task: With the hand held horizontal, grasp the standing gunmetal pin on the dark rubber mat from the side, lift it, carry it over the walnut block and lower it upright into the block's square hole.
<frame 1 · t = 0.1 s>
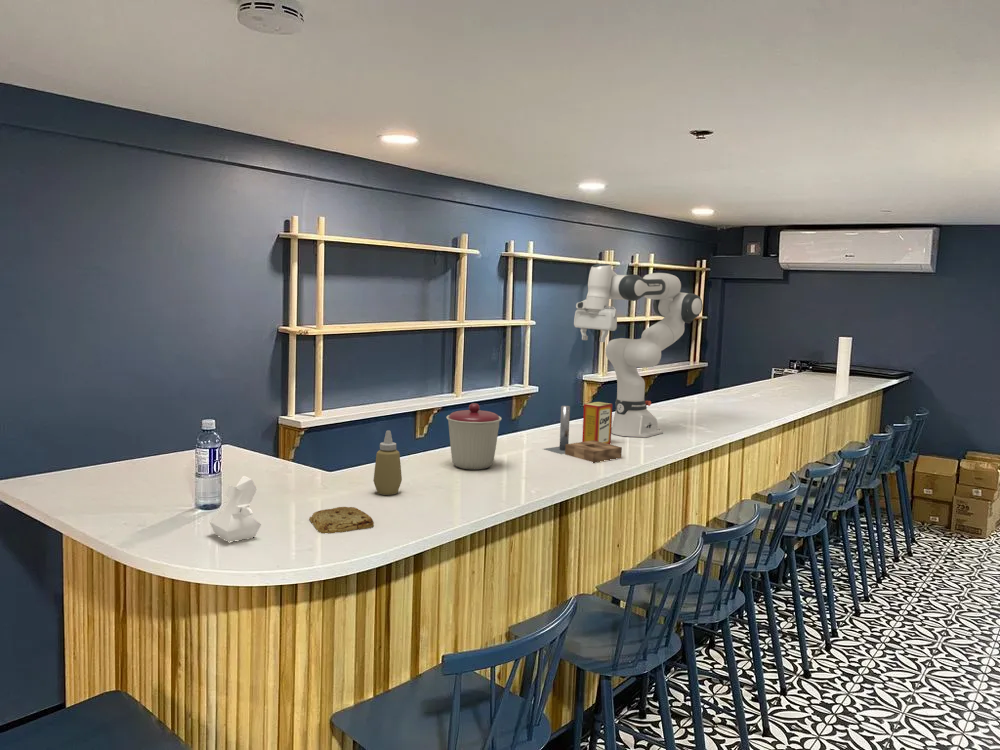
hand: (593, 341, 307), 39 cm above the bar counter, tool pointing down, fingers open, 8 cm apart
pin: (563, 449, 290), resting on mat
hole block: (593, 456, 281), on the bar counter
canister: (472, 467, 261), on the bar counter
pastry: (340, 525, 198), on the bar counter
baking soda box: (596, 444, 303), on the bar counter
white faceted figurine: (236, 537, 185), on the bar counter
mat: (563, 450, 290), on the bar counter
squeeze bottle: (387, 493, 226), on the bar counter
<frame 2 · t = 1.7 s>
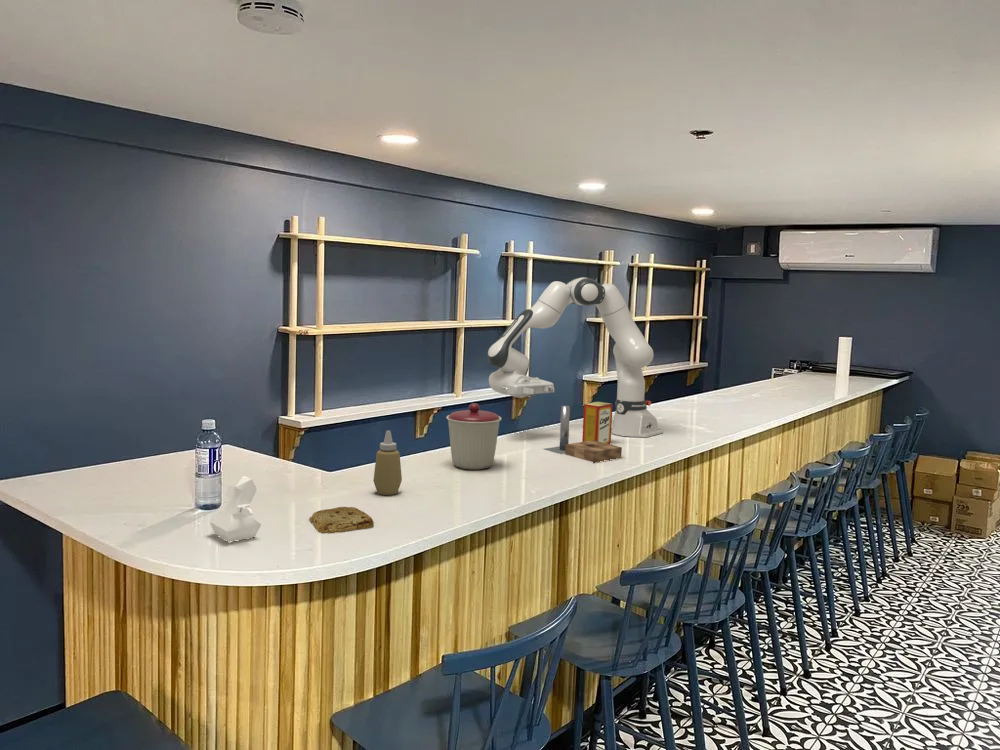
hand: (543, 391, 296), 20 cm above the bar counter, tool horizontal, fingers open, 8 cm apart
nothing on the bar counter moved.
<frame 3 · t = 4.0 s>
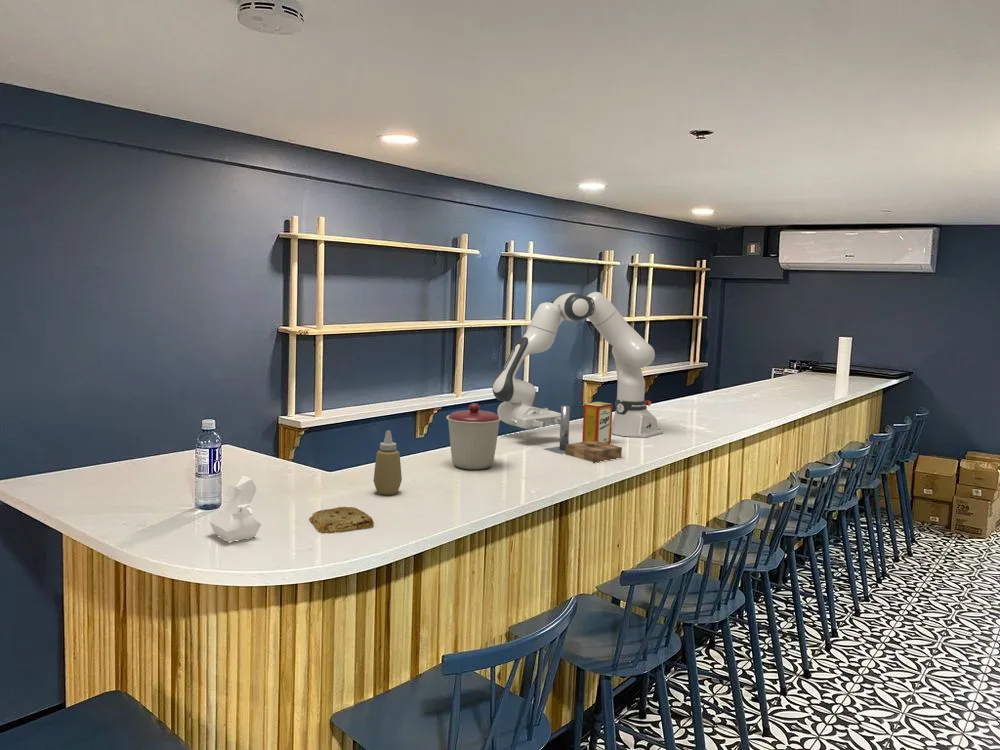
hand: (553, 423, 293), 9 cm above the bar counter, tool horizontal, fingers open, 8 cm apart
nothing on the bar counter moved.
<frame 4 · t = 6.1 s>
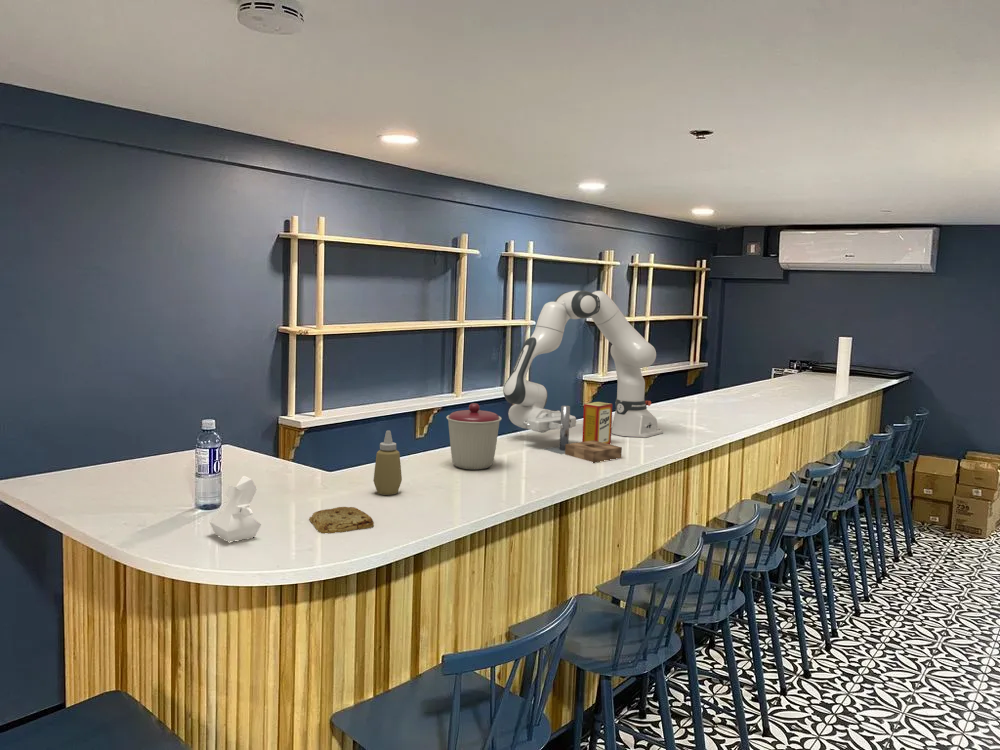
hand: (566, 426, 288), 9 cm above the bar counter, tool horizontal, fingers closed on pin, 3 cm apart
pin: (563, 449, 290), resting on mat, touching gripper
everything else where it was.
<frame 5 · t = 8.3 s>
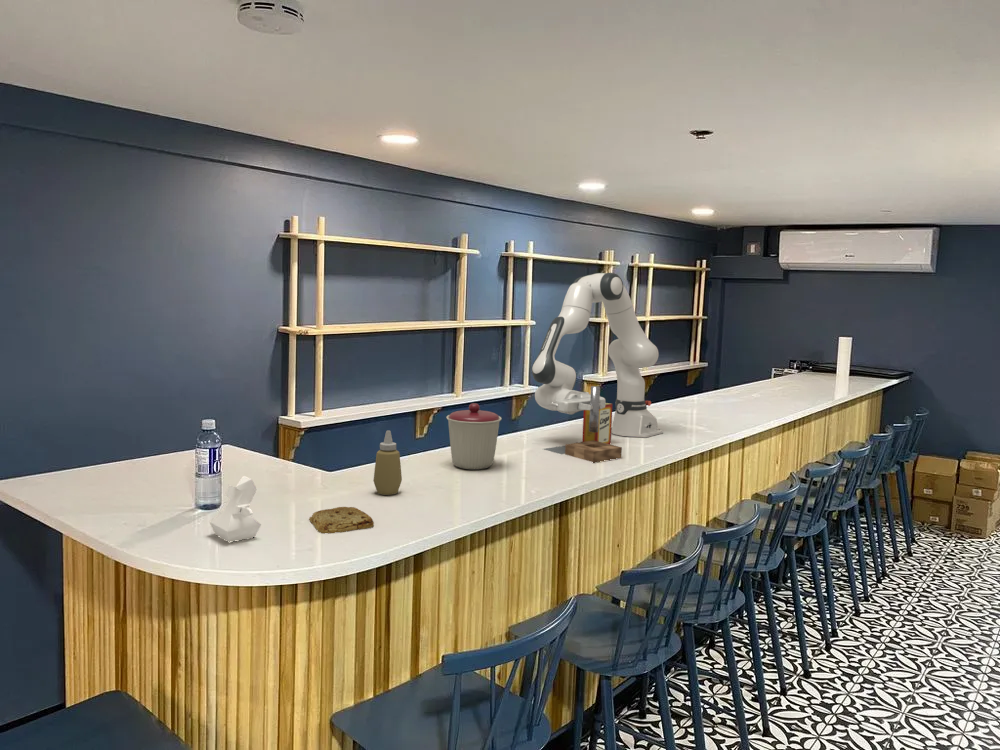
hand: (596, 407, 278), 18 cm above the bar counter, tool horizontal, fingers closed on pin, 3 cm apart
pin: (593, 431, 280), point 9 cm above the bar counter, touching gripper
everything else where it was.
when the fingers open (10 cm above the bar counter, at t = 10.5 s): pin drops 1 cm, resting in hole block.
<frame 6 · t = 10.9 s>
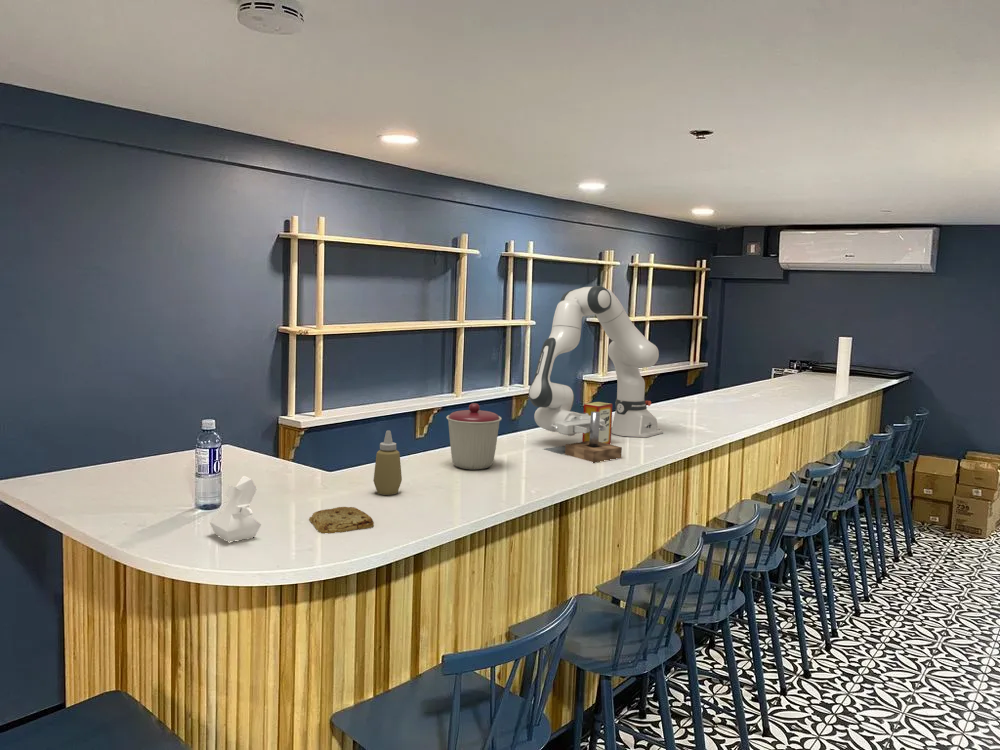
hand: (596, 429, 279), 10 cm above the bar counter, tool horizontal, fingers open, 7 cm apart
pin: (593, 456, 281), resting in hole block
everything else where it was.
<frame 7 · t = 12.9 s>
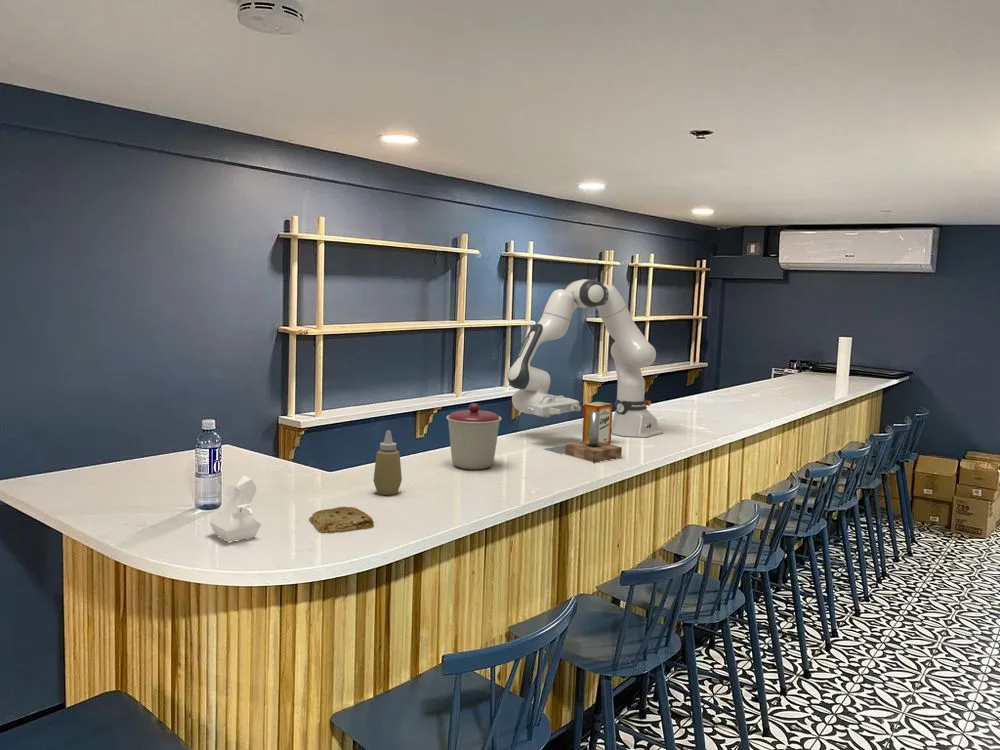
hand: (570, 410, 290), 15 cm above the bar counter, tool horizontal, fingers open, 8 cm apart
nothing on the bar counter moved.
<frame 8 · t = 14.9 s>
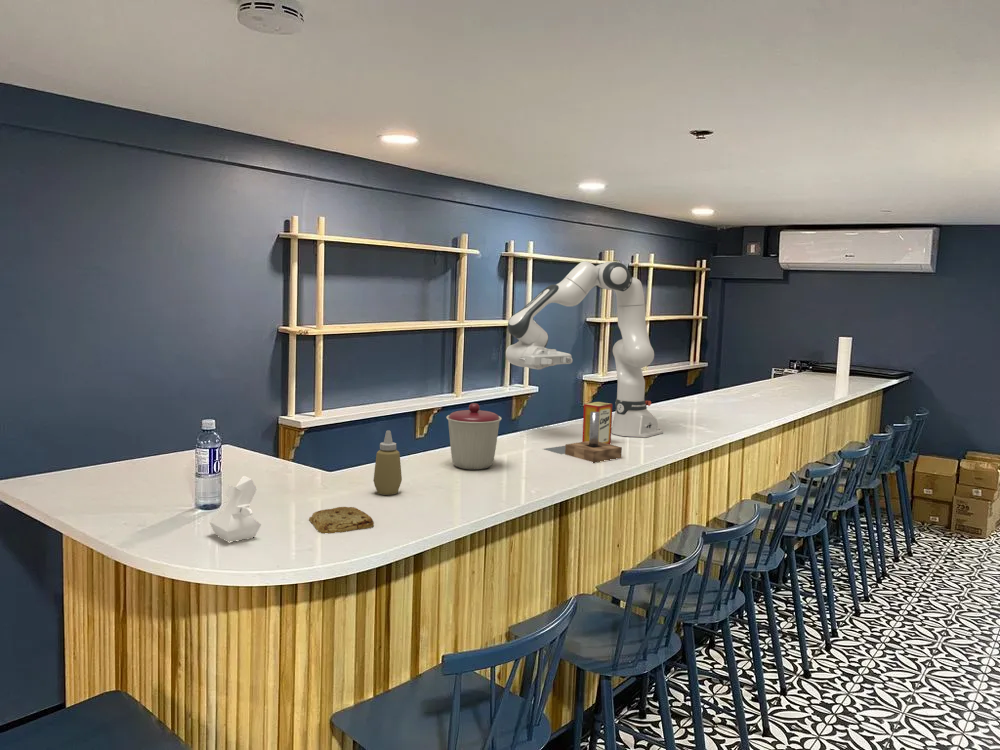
hand: (561, 361, 294), 32 cm above the bar counter, tool horizontal, fingers open, 8 cm apart
nothing on the bar counter moved.
at the end: pin 0.0 cm off-centre on the hole block, point 0.0 cm above the hole block's base; pin tilted 0°; the gripper is holding nothing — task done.
